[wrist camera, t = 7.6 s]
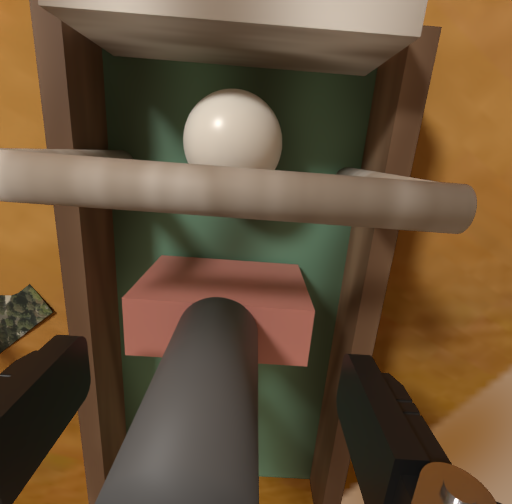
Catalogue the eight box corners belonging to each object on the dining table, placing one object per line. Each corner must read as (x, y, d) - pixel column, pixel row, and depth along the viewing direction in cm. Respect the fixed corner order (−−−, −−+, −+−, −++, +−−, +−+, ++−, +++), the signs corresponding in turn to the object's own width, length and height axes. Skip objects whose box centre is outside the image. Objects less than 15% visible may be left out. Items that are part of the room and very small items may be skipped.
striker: (298, 259, 16) (384, 479, 5) (292, 311, 17) (355, 594, 6) (161, 249, 16) (-41, 456, 5) (162, 303, 17) (-9, 575, 6)
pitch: (392, 60, 15) (619, -93, 6) (321, 463, 22) (367, 686, 13) (90, 36, 15) (-202, -169, 5) (120, 451, 22) (21, 670, 13)
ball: (292, 92, 10) (279, 209, 12) (284, 93, 14) (275, 183, 16) (169, 82, 10) (174, 202, 12) (192, 85, 14) (194, 177, 16)
